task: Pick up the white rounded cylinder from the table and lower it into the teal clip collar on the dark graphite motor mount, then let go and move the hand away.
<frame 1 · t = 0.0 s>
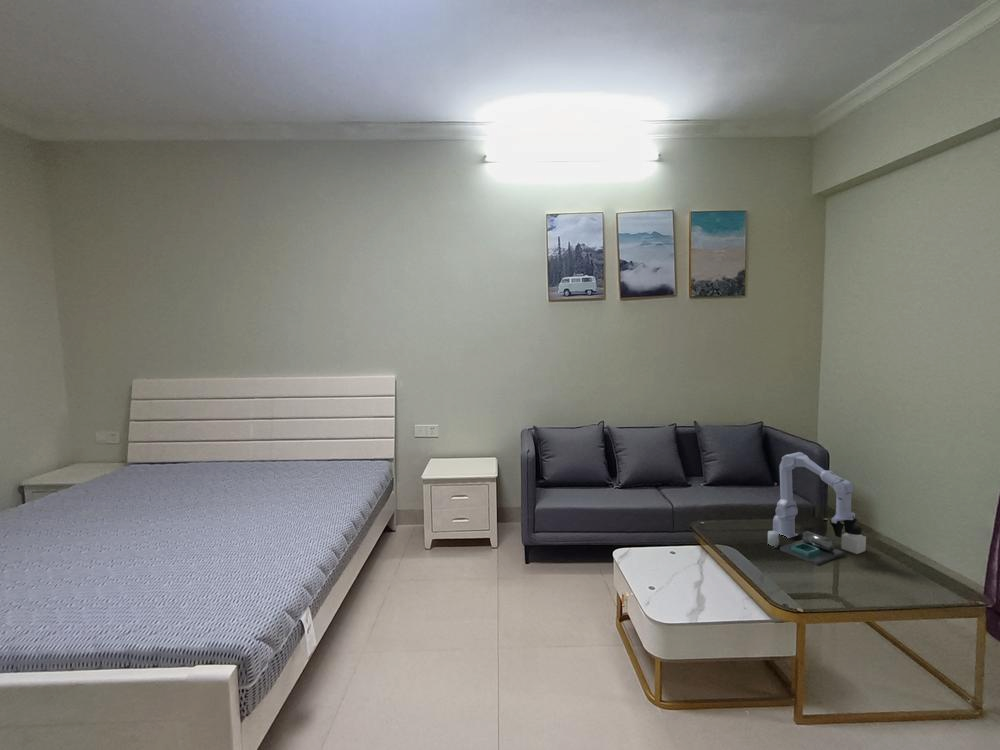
hand: (843, 534, 233), 10 cm above the table, fingers open, 7 cm apart
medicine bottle: (853, 550, 239), on the table
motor: (811, 552, 238), on the table
white rounded cylinder: (773, 545, 247), on the table
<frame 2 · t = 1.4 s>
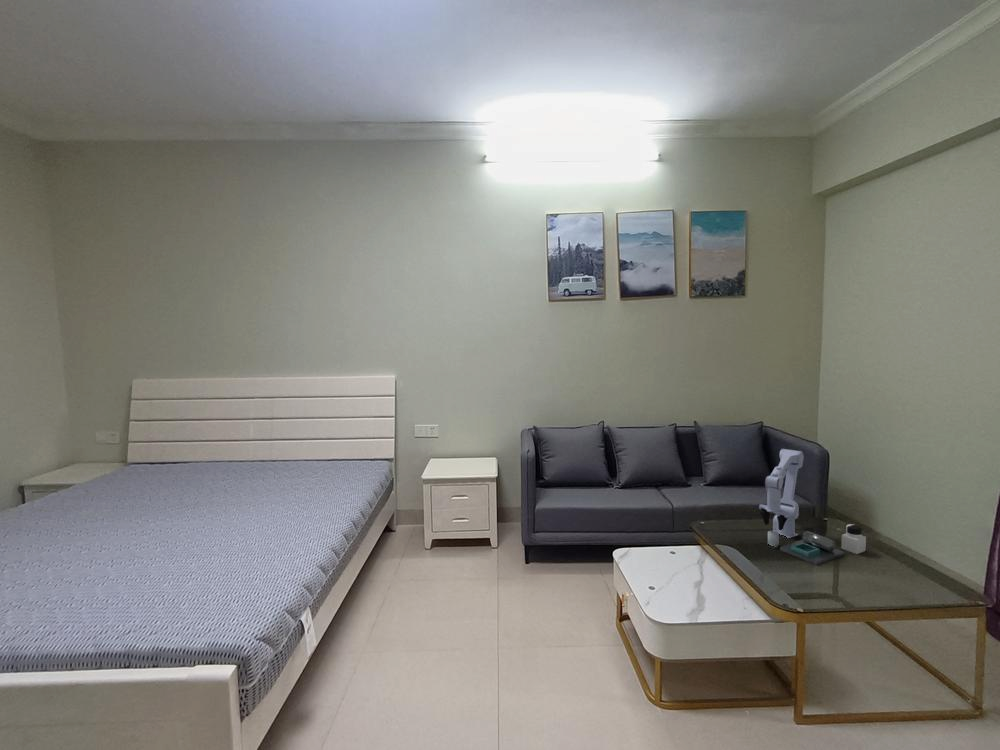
hand: (773, 527, 246), 9 cm above the table, fingers open, 7 cm apart
nothing on the table moved.
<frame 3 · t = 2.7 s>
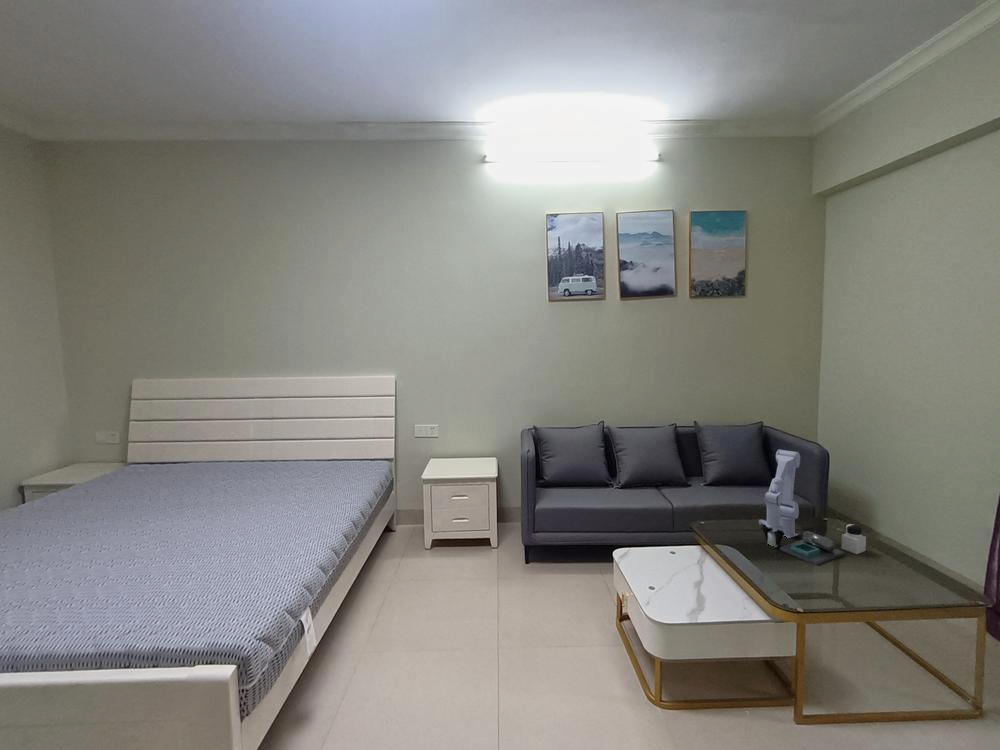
hand: (773, 542, 247), 1 cm above the table, fingers closed on white rounded cylinder, 5 cm apart
white rounded cylinder: (773, 545, 247), on the table, touching gripper
everything else where it was.
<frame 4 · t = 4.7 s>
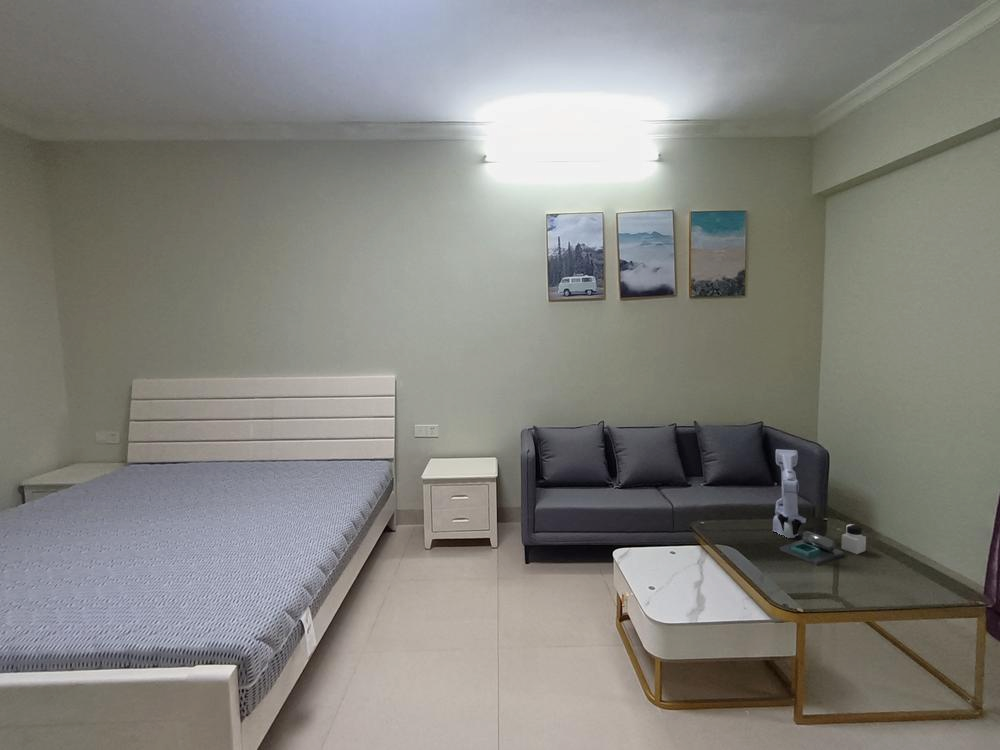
hand: (789, 532, 240), 9 cm above the table, fingers closed on white rounded cylinder, 5 cm apart
white rounded cylinder: (789, 535, 240), point 7 cm above the table, touching gripper
everything else where it was.
when the fingers open (4 cm above the table, at t = 6.5 s): white rounded cylinder drops 1 cm, resting on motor.
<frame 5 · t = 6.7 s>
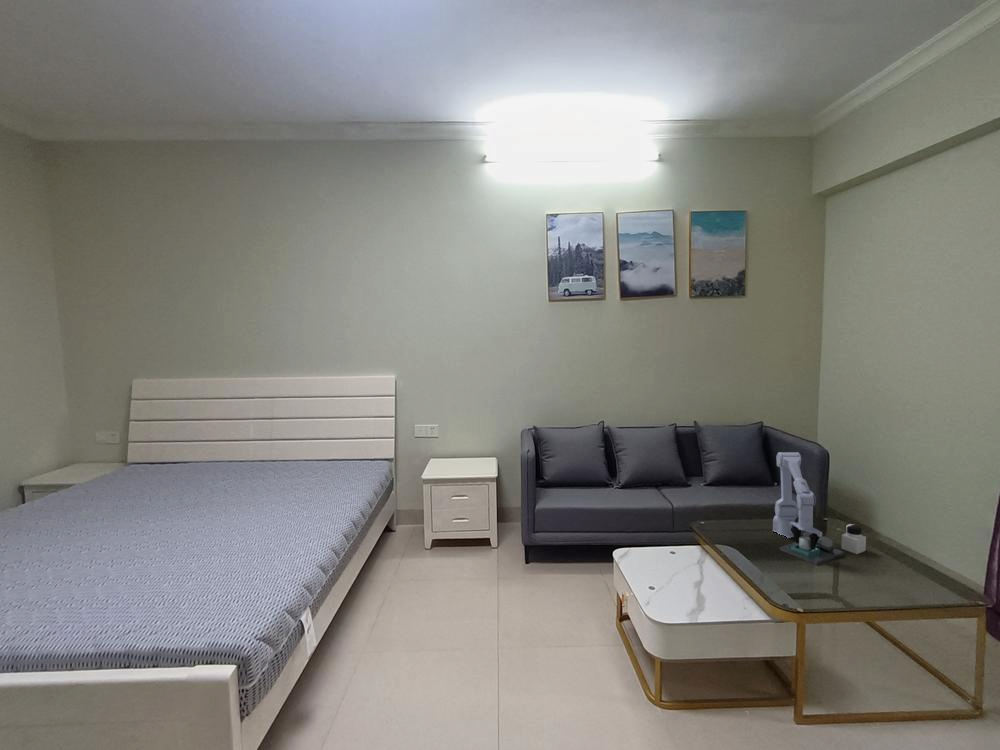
hand: (805, 545, 236), 4 cm above the table, fingers open, 7 cm apart
white rounded cylinder: (804, 551, 236), point 2 cm above the table, touching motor
everything else where it was.
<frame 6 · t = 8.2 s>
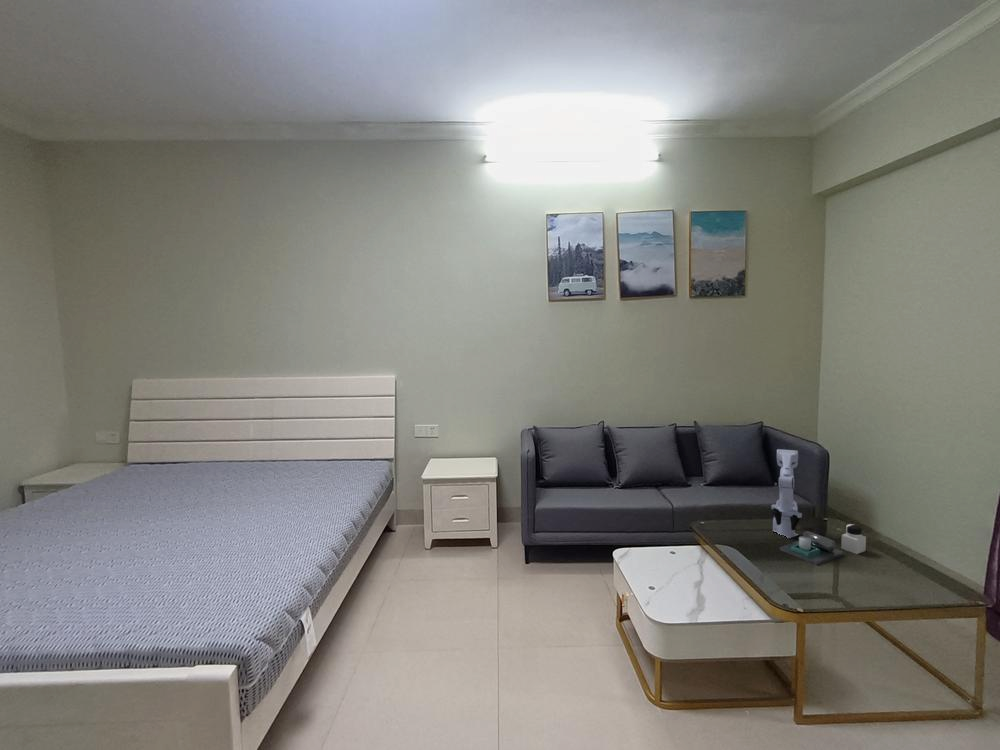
hand: (786, 527, 246), 9 cm above the table, fingers open, 7 cm apart
nothing on the table moved.
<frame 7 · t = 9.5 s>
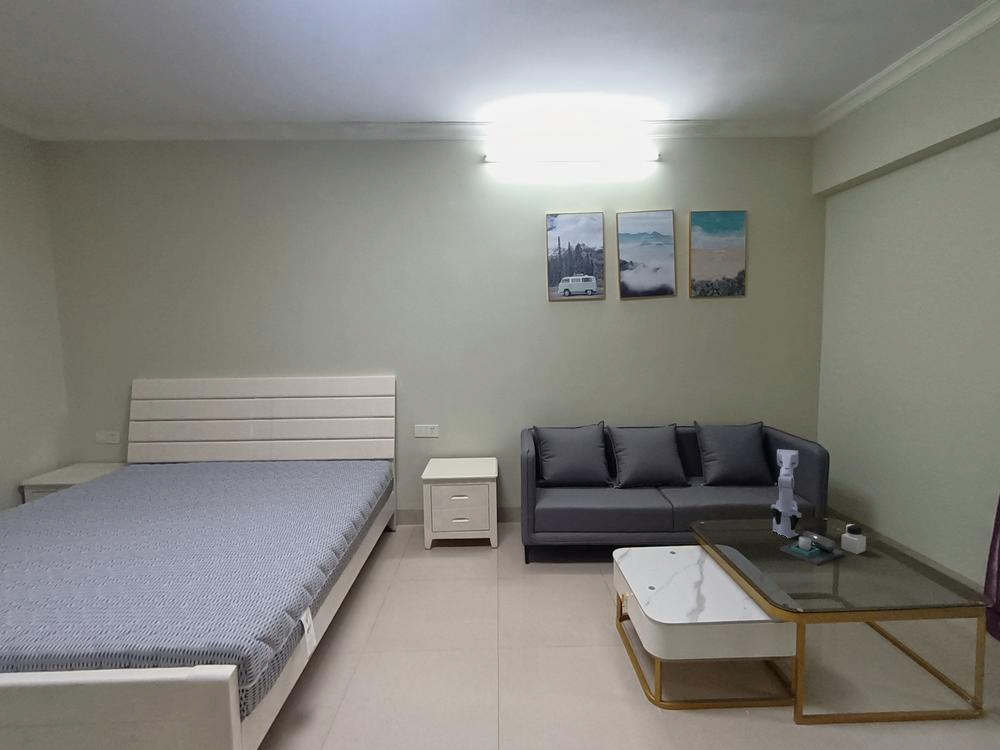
hand: (785, 526, 246), 9 cm above the table, fingers open, 7 cm apart
nothing on the table moved.
at the end: white rounded cylinder 0.3 cm from the target spot on the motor, point 1.5 cm above the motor's base; white rounded cylinder tilted 0°; the gripper is holding nothing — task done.
